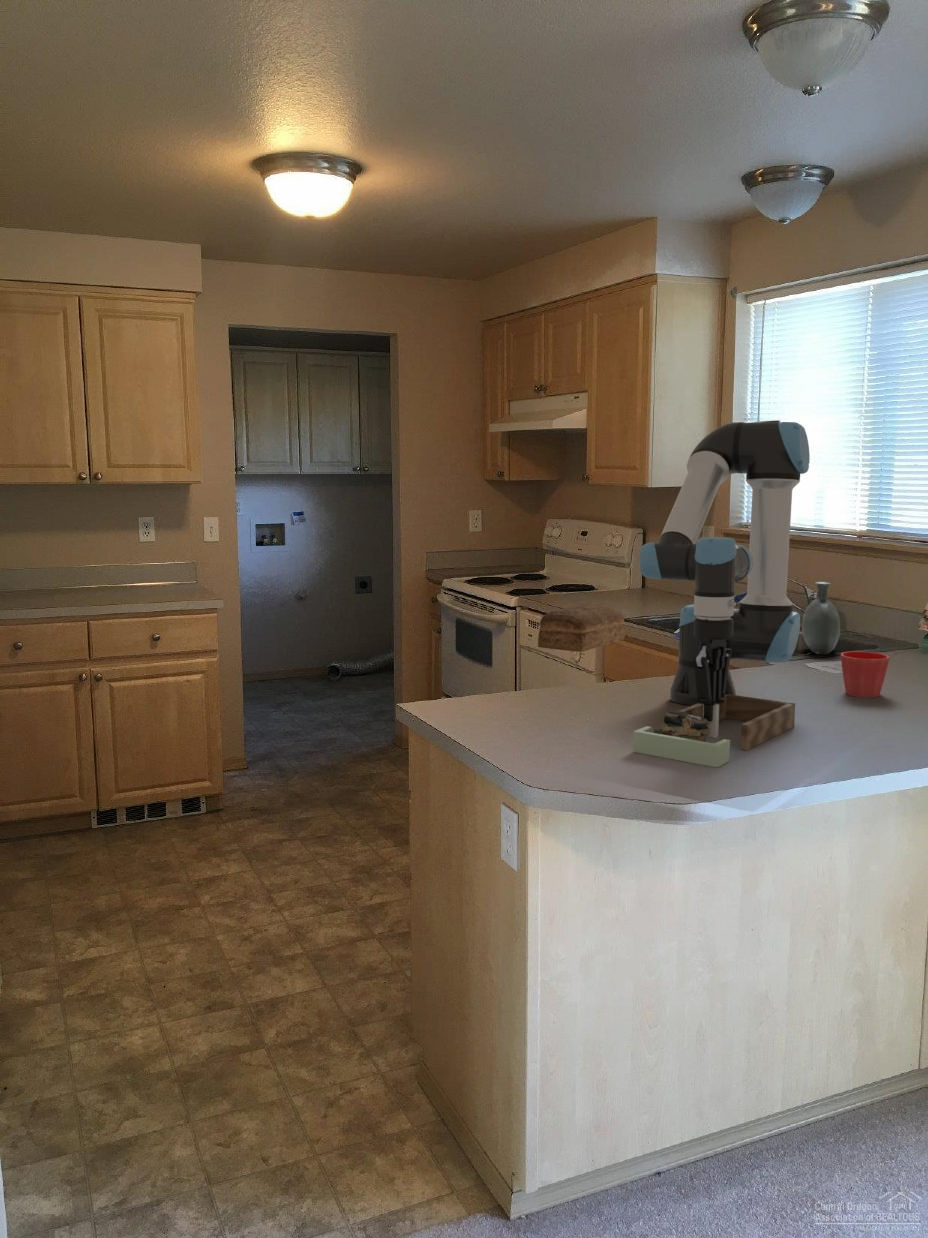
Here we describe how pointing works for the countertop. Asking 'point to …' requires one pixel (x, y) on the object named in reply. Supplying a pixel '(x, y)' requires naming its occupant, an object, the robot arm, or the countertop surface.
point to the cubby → (753, 717)
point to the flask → (821, 623)
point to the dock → (681, 748)
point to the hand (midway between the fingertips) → (710, 736)
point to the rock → (684, 726)
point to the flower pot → (863, 672)
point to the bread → (581, 627)
